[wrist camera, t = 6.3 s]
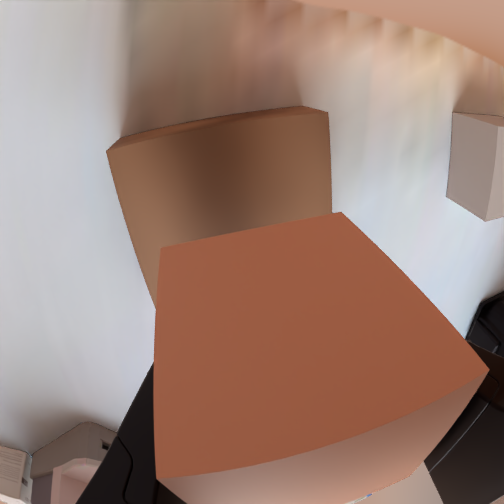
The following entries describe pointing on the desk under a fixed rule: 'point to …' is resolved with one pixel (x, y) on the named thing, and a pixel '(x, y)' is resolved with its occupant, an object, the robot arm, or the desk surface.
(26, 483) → the skincare box
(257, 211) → the walnut slab
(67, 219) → the desk surface
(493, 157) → the grey block
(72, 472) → the instant camera
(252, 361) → the terracotta block
